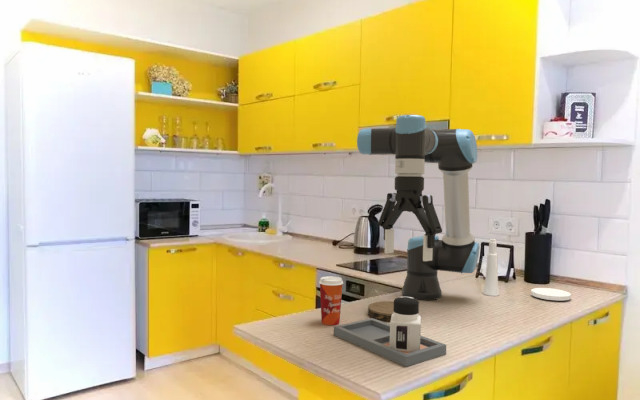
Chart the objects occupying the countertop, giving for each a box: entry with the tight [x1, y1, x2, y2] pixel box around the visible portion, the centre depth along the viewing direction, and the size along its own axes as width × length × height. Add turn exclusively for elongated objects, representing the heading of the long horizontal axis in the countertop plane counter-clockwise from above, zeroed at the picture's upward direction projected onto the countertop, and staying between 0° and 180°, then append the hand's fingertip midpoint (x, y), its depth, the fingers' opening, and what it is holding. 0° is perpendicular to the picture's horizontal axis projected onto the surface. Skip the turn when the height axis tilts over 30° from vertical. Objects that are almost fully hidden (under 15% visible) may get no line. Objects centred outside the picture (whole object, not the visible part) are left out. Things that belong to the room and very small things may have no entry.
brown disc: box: [367, 300, 394, 323], centre depth 161 cm, size 16×16×3 cm
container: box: [389, 296, 422, 352], centre depth 128 cm, size 8×8×13 cm
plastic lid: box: [530, 287, 572, 301], centre depth 189 cm, size 14×14×2 cm
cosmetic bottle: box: [482, 238, 500, 297], centre depth 192 cm, size 6×6×22 cm
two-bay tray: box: [333, 317, 447, 368], centre depth 134 cm, size 28×15×2 cm, turn 37°
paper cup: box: [318, 275, 344, 326], centre depth 152 cm, size 8×8×14 cm
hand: (407, 256), depth 127 cm, fingers open, 13 cm apart
